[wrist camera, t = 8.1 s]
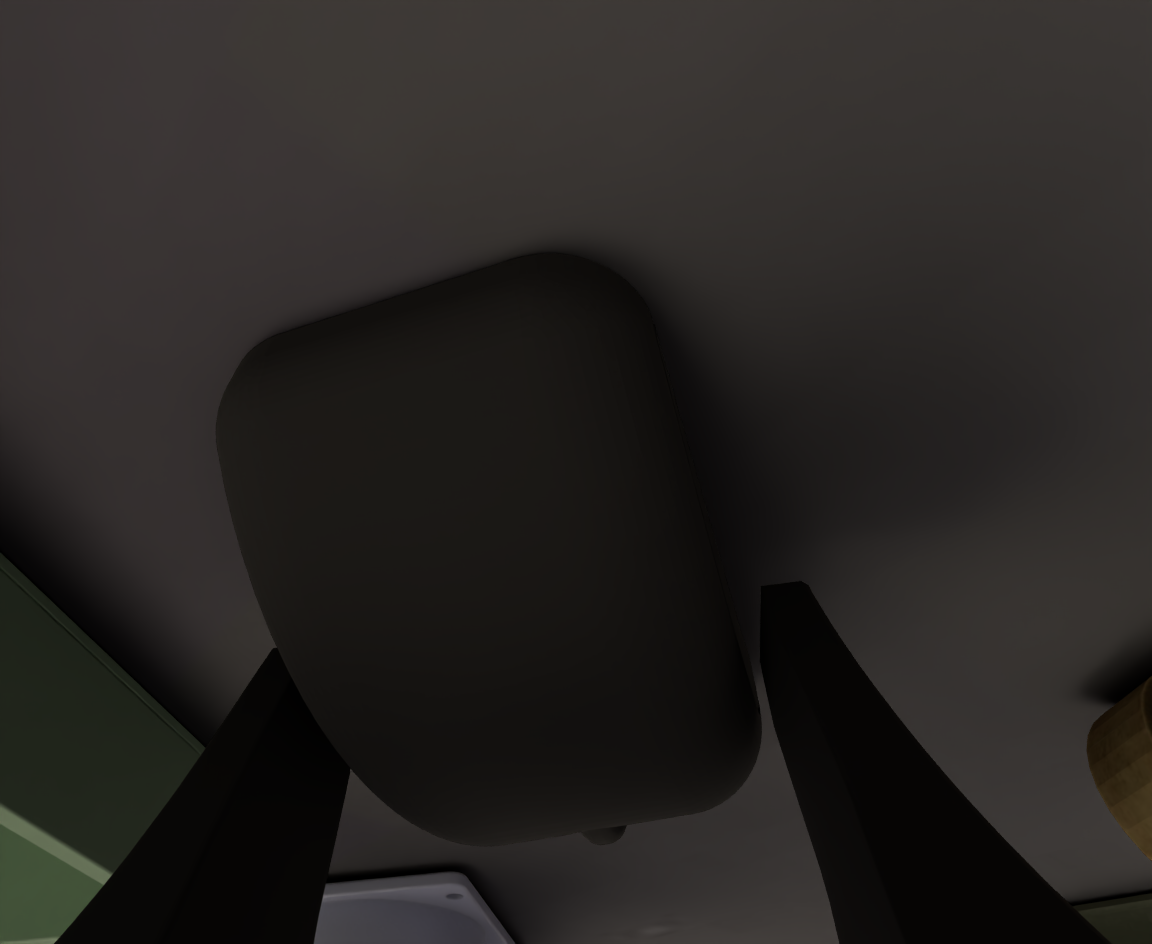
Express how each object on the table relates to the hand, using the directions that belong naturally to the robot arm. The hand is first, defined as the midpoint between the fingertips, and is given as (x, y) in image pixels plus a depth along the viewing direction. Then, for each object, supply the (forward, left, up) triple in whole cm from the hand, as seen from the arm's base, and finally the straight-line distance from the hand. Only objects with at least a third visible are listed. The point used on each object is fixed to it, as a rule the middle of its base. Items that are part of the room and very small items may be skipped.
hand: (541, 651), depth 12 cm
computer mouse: (0, 0, -2) cm, 2 cm away
